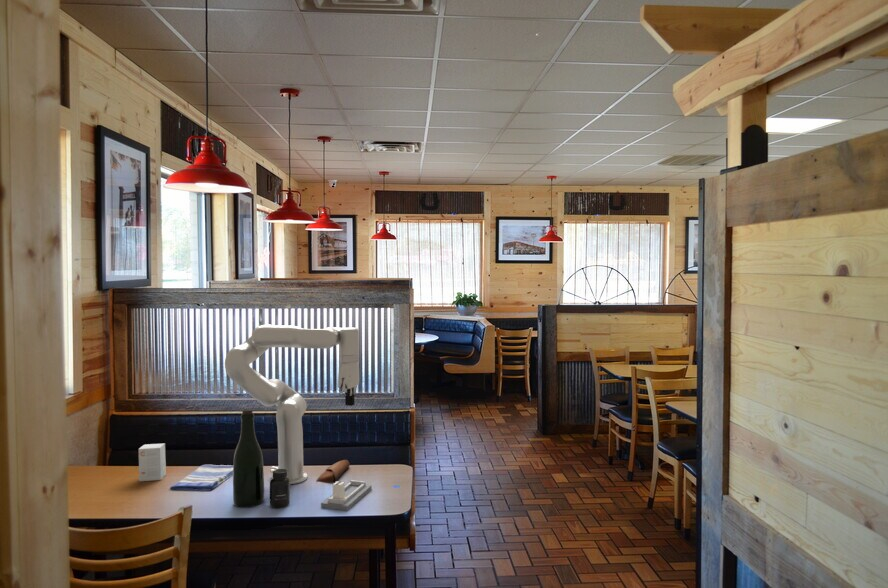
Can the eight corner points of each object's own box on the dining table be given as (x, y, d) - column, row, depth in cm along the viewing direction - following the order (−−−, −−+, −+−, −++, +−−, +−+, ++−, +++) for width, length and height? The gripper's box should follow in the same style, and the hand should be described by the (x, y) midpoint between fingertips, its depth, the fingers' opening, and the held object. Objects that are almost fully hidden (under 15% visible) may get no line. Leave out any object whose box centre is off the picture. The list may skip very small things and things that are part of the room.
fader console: (347, 510, 190) (347, 501, 190) (321, 507, 193) (321, 498, 193) (371, 489, 209) (371, 481, 209) (347, 486, 212) (347, 478, 212)
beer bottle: (250, 494, 205) (249, 405, 204) (270, 500, 200) (269, 408, 199) (226, 504, 196) (225, 411, 195) (246, 510, 191) (245, 414, 190)
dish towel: (241, 470, 232) (240, 464, 232) (212, 492, 209) (212, 484, 209) (201, 469, 234) (201, 463, 234) (168, 491, 210) (168, 483, 210)
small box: (166, 474, 226) (165, 443, 226) (160, 480, 220) (160, 447, 220) (144, 476, 225) (144, 444, 225) (138, 481, 219) (138, 448, 219)
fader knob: (340, 502, 193) (340, 484, 193) (332, 501, 194) (332, 483, 194) (344, 499, 196) (344, 481, 196) (337, 498, 197) (336, 480, 197)
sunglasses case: (330, 466, 235) (337, 453, 235) (344, 475, 235) (351, 462, 234) (315, 481, 217) (323, 467, 217) (330, 491, 217) (338, 477, 216)
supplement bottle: (279, 510, 191) (278, 475, 191) (265, 506, 195) (265, 472, 194) (294, 503, 197) (293, 469, 196) (280, 499, 200) (280, 466, 200)
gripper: (349, 356, 229) (349, 400, 229) (331, 361, 214) (332, 408, 215) (366, 356, 226) (366, 401, 227) (349, 362, 212) (349, 410, 213)
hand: (349, 404), depth 221 cm, fingers closed
